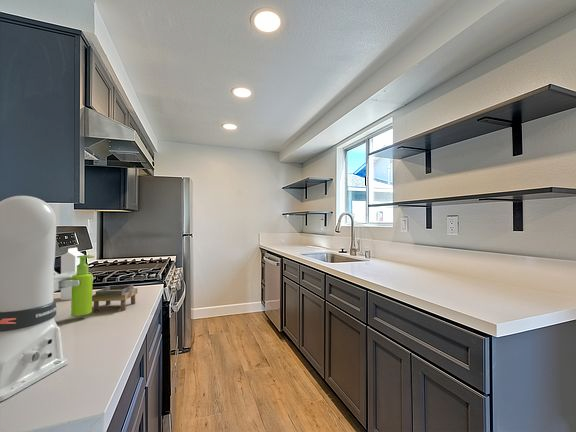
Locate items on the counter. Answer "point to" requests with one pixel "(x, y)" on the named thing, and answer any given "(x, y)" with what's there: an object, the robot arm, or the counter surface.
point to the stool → (114, 295)
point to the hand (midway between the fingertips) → (86, 280)
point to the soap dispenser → (82, 289)
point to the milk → (69, 269)
